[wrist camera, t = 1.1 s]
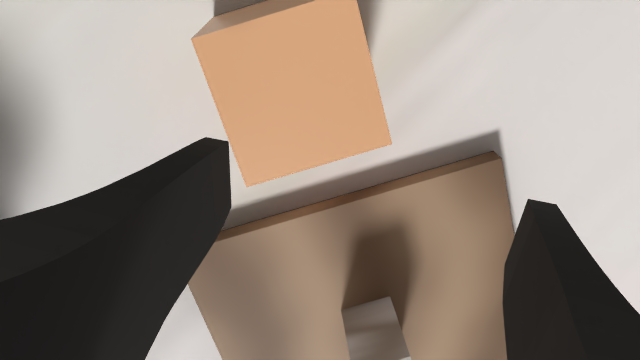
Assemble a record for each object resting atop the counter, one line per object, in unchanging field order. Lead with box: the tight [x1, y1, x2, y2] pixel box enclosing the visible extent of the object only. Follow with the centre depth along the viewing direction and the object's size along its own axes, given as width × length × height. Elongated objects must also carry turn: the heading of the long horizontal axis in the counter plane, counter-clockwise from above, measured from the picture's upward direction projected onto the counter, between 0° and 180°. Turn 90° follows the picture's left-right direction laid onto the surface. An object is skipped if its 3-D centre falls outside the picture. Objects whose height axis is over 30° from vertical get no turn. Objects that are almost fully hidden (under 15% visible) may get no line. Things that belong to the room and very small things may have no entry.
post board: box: [188, 151, 514, 360], centre depth 26 cm, size 16×14×6 cm
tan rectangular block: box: [191, 0, 392, 187], centre depth 21 cm, size 5×5×7 cm
